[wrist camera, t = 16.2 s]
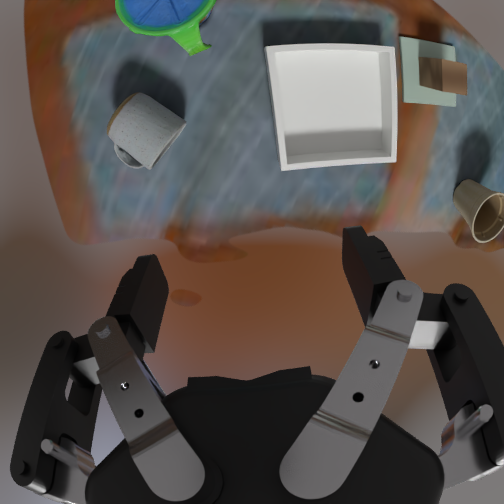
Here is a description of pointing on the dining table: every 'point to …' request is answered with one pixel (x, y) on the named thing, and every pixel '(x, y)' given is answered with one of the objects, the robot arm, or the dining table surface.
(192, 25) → the snack cup
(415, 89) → the sage mat
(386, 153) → the white bin
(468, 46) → the dining table surface
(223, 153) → the dining table surface
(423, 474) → the robot arm
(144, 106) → the ceramic mug
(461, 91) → the walnut block
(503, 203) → the flower pot
